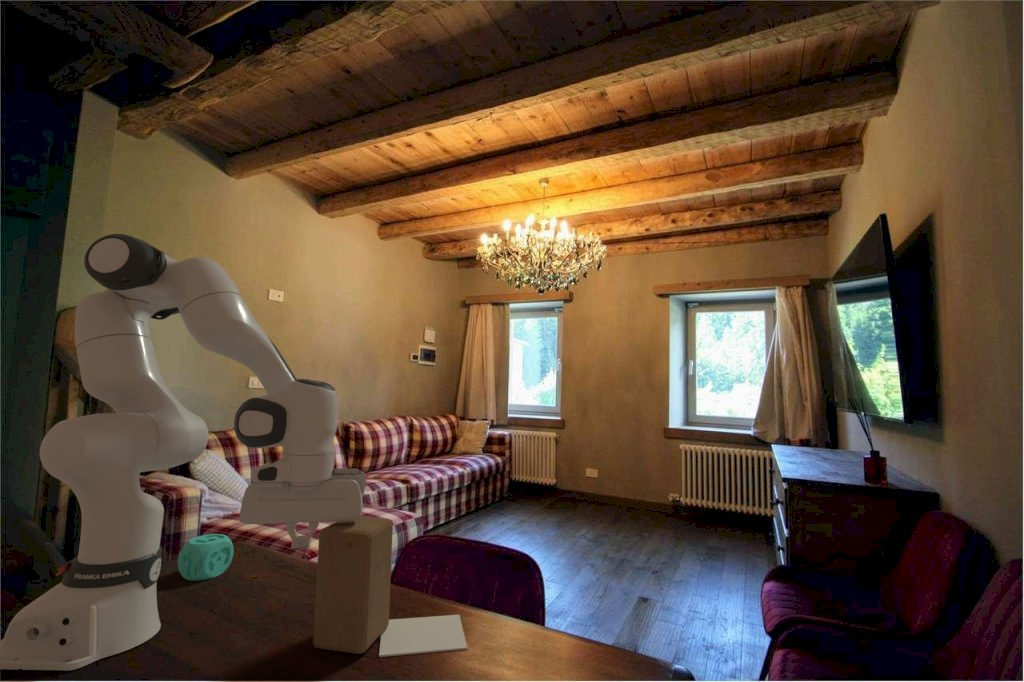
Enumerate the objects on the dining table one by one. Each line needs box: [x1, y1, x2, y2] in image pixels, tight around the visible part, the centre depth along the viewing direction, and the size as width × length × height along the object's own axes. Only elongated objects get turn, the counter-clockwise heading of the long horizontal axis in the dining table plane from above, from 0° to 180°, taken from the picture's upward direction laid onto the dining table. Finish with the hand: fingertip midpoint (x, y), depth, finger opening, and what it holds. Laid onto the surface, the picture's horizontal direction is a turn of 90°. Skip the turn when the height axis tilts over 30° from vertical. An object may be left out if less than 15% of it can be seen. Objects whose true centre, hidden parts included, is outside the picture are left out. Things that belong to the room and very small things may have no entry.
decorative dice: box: [177, 533, 235, 582], centre depth 107 cm, size 8×8×8 cm
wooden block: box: [312, 516, 394, 655], centre depth 82 cm, size 10×10×20 cm
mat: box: [378, 614, 468, 658], centre depth 83 cm, size 15×12×1 cm
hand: (301, 547), depth 81 cm, fingers closed
